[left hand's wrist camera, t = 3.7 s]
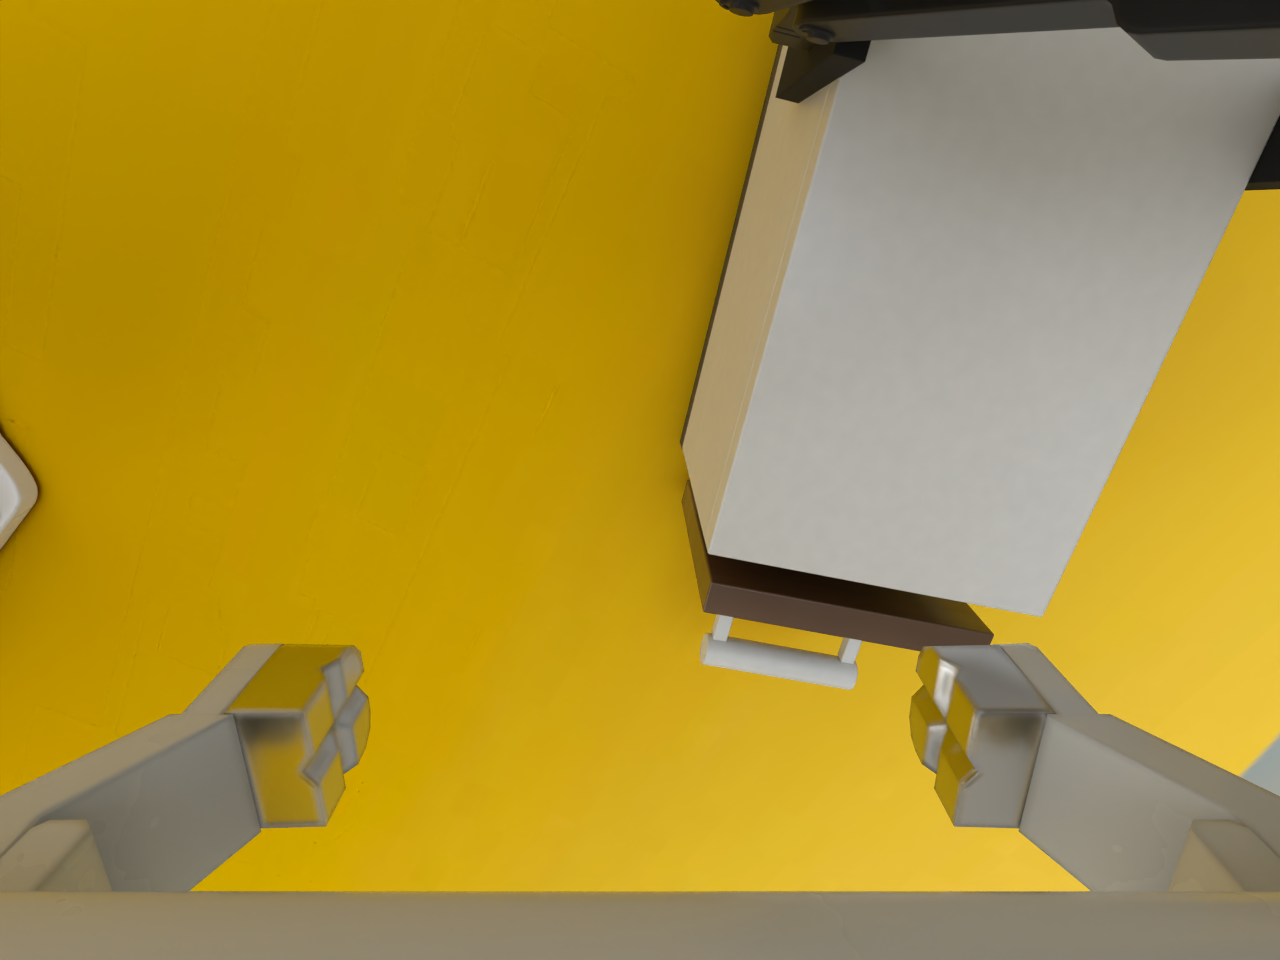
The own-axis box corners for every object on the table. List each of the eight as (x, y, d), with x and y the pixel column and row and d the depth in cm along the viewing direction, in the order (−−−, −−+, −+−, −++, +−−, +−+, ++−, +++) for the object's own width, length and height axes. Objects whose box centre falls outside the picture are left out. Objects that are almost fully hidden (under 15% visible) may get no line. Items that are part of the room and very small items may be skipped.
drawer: (852, 634, 36) (929, 779, 27) (656, 599, 35) (667, 736, 26) (1039, 132, 28) (1239, 94, 19) (792, 69, 27) (877, -3, 18)
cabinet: (909, 488, 35) (1043, 618, 24) (679, 441, 33) (707, 554, 22) (1080, 32, 28) (1376, -85, 17) (800, -44, 27) (922, -222, 16)
